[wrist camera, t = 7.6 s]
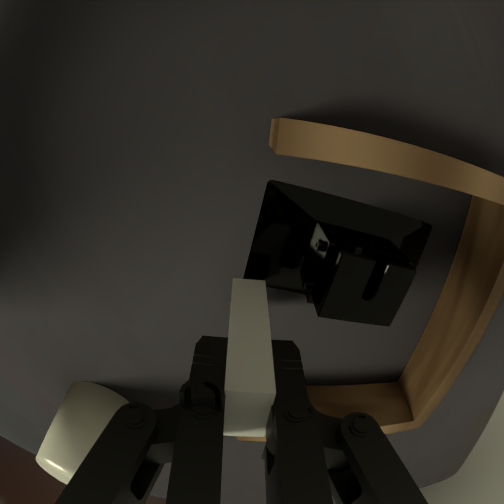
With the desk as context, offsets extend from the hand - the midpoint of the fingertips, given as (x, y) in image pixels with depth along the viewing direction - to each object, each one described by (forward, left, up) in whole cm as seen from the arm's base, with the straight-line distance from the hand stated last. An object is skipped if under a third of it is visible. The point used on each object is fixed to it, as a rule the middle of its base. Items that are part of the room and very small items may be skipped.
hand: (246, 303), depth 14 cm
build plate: (+5, +2, -2) cm, 6 cm away
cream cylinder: (-11, -14, -2) cm, 18 cm away
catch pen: (+6, 0, -2) cm, 6 cm away
